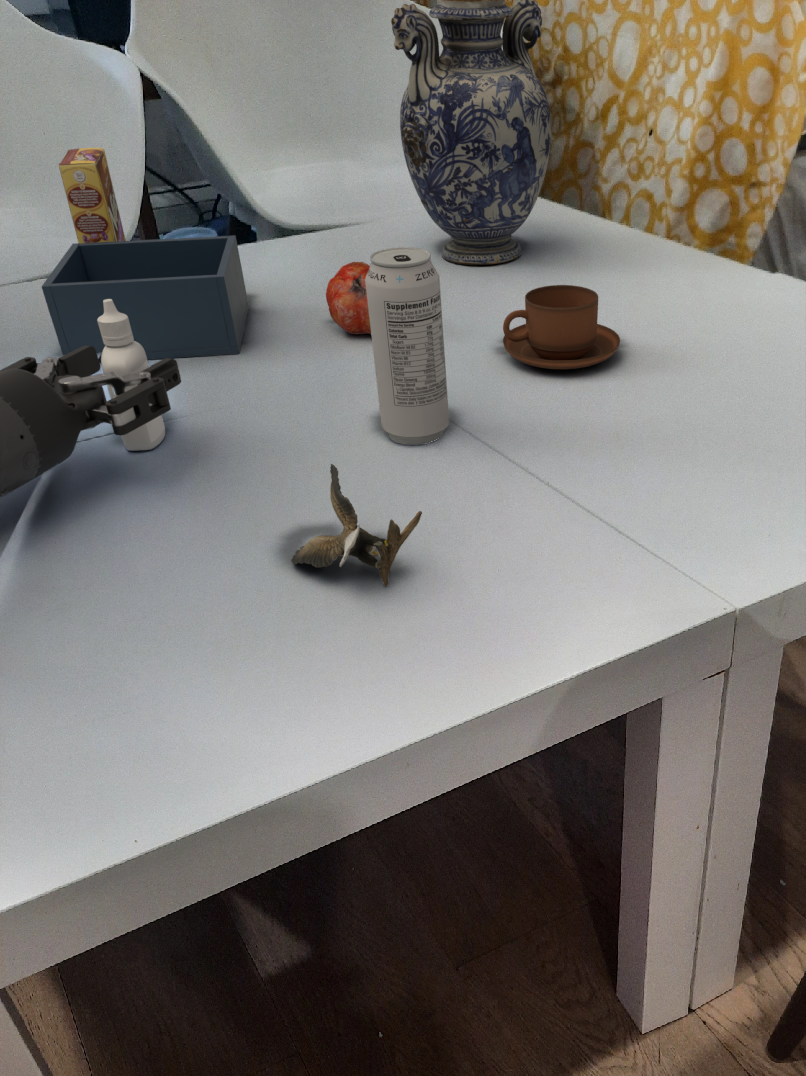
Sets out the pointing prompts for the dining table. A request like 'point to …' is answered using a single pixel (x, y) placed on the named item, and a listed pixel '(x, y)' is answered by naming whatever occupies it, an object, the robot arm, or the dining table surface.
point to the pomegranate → (350, 298)
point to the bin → (152, 295)
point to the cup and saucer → (560, 329)
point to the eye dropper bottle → (127, 370)
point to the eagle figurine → (353, 538)
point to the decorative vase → (474, 122)
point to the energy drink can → (408, 344)
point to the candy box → (91, 196)
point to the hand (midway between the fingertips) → (134, 363)
